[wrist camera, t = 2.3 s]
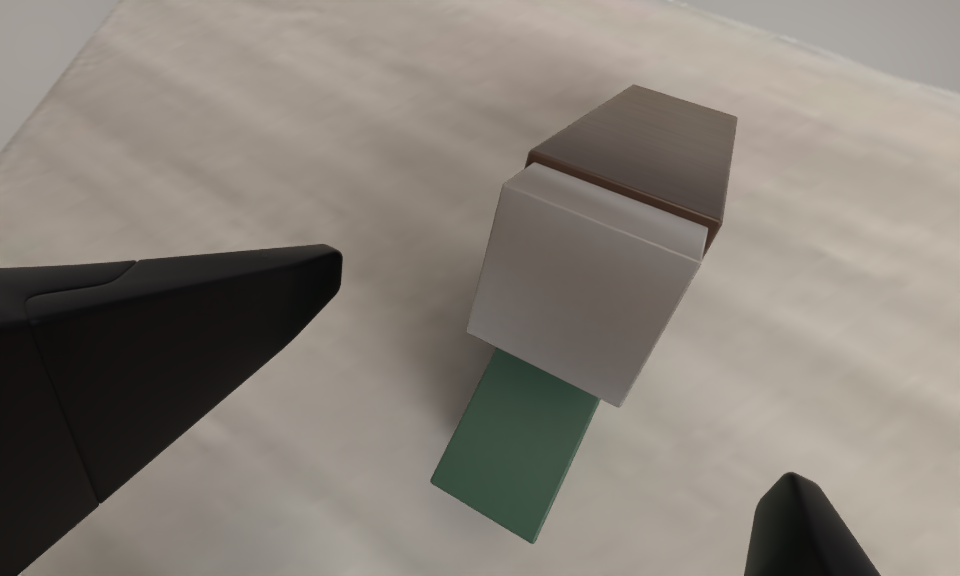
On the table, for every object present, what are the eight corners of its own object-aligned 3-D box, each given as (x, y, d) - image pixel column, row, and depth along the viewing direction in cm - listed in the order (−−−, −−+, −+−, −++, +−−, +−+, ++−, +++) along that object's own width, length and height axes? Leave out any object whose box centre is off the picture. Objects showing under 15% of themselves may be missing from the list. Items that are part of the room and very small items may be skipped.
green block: (544, 500, 20) (533, 545, 13) (472, 459, 21) (428, 482, 14) (614, 348, 21) (637, 318, 14) (543, 314, 22) (533, 272, 15)
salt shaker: (598, 412, 20) (649, 413, 8) (506, 364, 22) (427, 304, 9) (715, 156, 22) (899, -156, 10) (624, 125, 23) (688, -189, 11)
